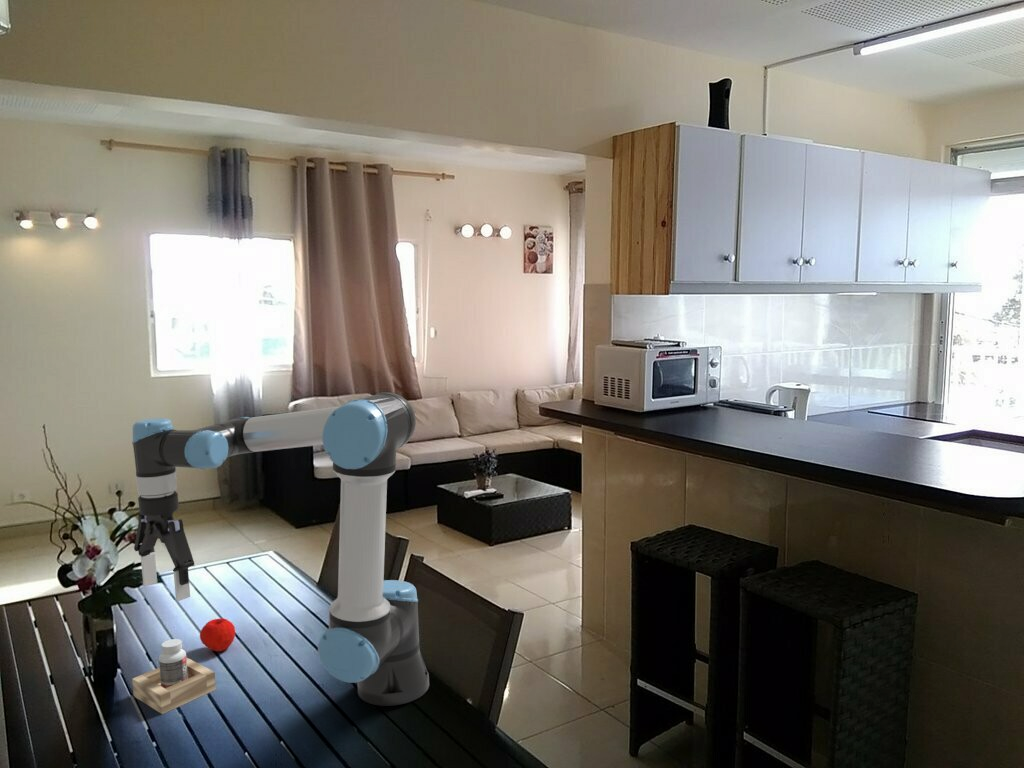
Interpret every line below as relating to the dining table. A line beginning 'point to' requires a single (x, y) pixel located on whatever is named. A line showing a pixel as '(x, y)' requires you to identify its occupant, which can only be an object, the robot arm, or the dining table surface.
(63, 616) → the dining table surface
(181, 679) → the pill bottle
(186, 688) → the maple holder
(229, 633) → the apple
